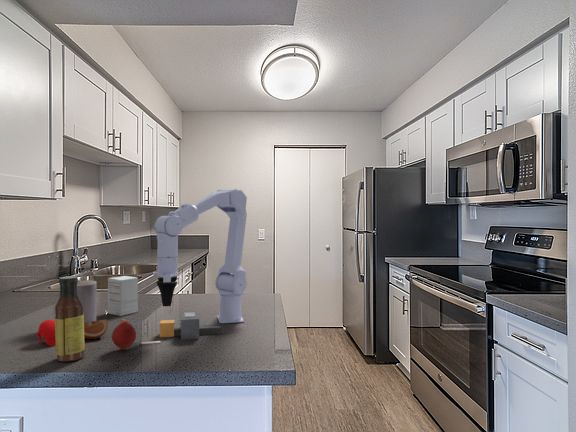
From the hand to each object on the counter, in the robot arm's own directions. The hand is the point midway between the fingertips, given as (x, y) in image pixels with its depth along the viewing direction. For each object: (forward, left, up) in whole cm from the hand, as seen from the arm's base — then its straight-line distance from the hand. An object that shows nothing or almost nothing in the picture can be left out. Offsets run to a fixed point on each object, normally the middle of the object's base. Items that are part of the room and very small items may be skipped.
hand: (167, 303), depth 123 cm
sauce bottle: (+15, -22, -10) cm, 29 cm away
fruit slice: (-2, -20, -10) cm, 23 cm away
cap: (0, -30, -10) cm, 32 cm away
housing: (0, +6, -9) cm, 11 cm away
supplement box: (-33, -16, -10) cm, 38 cm away
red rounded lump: (+11, -10, -10) cm, 18 cm away
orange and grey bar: (0, +7, -9) cm, 12 cm away
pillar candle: (-17, -26, -10) cm, 33 cm away
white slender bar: (+6, -4, -9) cm, 12 cm away
